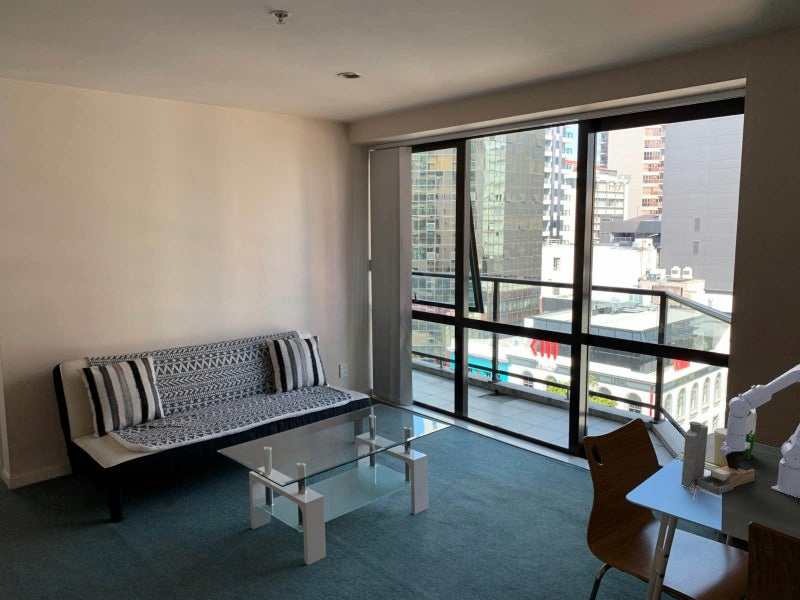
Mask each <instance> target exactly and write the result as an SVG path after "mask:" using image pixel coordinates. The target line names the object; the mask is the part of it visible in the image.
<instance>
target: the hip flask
mask: <svg viewBox="0 0 800 600" xmlns="http://www.w3.org/2000/svg"><path fill="white" fill-rule="evenodd" d="M688 425H689V429H687V431H686V432H685V435H684V447H683V448H684V449H683V459H682V460H683V461H682V471H681V483H680V484H682V485H684V486H686V487H685V488H689V487H690V488H692V487H693V485H692V484H694V483H695V482H696V481H695V480H696V479H698V478H700V477H701V478H702V476H703V477H705V466H706V456H707V443H708V434H709V433H708V432H709V431H708V429H709V426H707V425H705V424H702V423H701V422H698V421H689V424H688ZM694 481H695V482H694ZM693 482H694V483H693ZM682 485H681V486H682ZM684 486H683V487H684ZM691 486H692V487H691Z"/></svg>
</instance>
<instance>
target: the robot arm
mask: <svg viewBox="0 0 800 600" xmlns="http://www.w3.org/2000/svg"><path fill="white" fill-rule="evenodd" d="M795 383H800V363H799V364H797V365H795V366H793V368H791V369H789V370H787V371H786V372H785V373H783V374H781V375H780V376H778V377H776V378H775V379H773V380H772V381H770V382H769V383H767V384H765V385H763V384H757V385H755V384H753V385H752V386H750V388H751V389H749V390H747V391H746V392H744V393H739V394H738V396H735V397H733V398H731V399H730V400H729V402H728V408H729V411H728V412H729V413H728V418H727V427H726V429H727V436H726V442H723V445H724V446H723V447H722V448H720V452H719V454H722V455H725V457H726V459H727V463H728V467H729V468H732V469H735V470H737V471H738V468H740V466H741V464H742V461H743V459H745V458H744V457H745V456H746V453H745V452H743V451H745V450H746V448H747V449H750V443H748V442H746V431H747V415H748V414H749V412H750V410H753V409H757V408H759V407H761V406H763V405H764V404H765V403H767V402H770V401H771V400H772V396H773V394H775V393H777V392H779V391H781V390H783V389H785V388H787V387H788V386H791V385H792V384H795ZM780 453H781V455H782V456H783V457H782V458H781V459H780V460H779V463H778V464H779V465H778V466H779V467H778V473H777V474H778V476H777V483H776V485H773V486H771V487H770V489H772V490H774V491H777V492H780V493H781V494H785V495H788V496H790V495H791V496H790V497H793V496H794V497H793V498H796V497H797V496H798V498H800V423H799V424H798V426H797V428H796V430H795V432H794V433H793V434H791V436H790V437H789V438H788V440H787V441H785V442H783V444H782V445H781V447H780ZM798 498H797V499H798Z"/></svg>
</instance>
